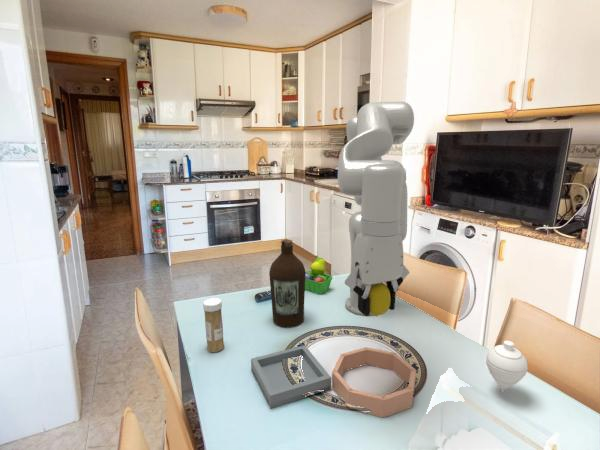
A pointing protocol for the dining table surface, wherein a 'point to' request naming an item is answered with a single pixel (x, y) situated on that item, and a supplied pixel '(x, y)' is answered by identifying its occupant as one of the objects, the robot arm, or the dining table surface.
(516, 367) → the spinning top
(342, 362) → the terracotta ring
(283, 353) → the grey tray
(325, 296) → the dining table surface
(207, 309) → the sprinkles bottle
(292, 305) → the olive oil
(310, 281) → the fruit basket
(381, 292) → the lemon
